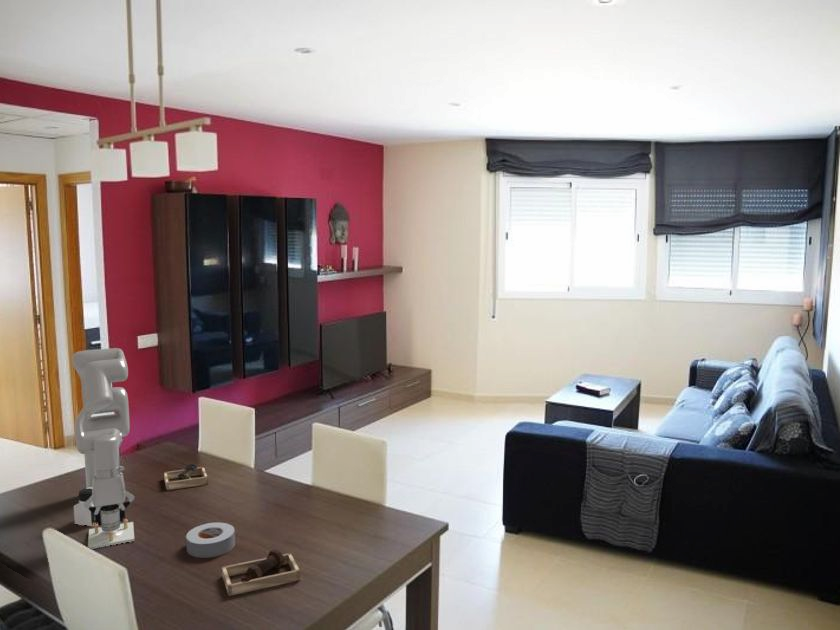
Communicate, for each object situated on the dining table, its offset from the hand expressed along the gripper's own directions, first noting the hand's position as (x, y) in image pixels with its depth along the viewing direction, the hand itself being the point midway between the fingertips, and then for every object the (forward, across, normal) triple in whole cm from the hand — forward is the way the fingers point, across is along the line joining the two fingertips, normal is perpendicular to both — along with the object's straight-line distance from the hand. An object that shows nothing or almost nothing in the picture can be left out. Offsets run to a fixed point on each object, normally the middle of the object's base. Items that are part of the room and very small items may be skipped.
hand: (110, 521), depth 224 cm
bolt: (+5, -41, +48) cm, 63 cm away
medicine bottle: (+6, +7, -16) cm, 18 cm away
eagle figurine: (+6, -28, -42) cm, 51 cm away
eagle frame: (+5, -28, -41) cm, 50 cm away
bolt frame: (+5, -41, +48) cm, 63 cm away
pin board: (+5, 0, 0) cm, 5 cm away
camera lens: (+2, 0, 0) cm, 2 cm away
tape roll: (+6, -30, +21) cm, 37 cm away
